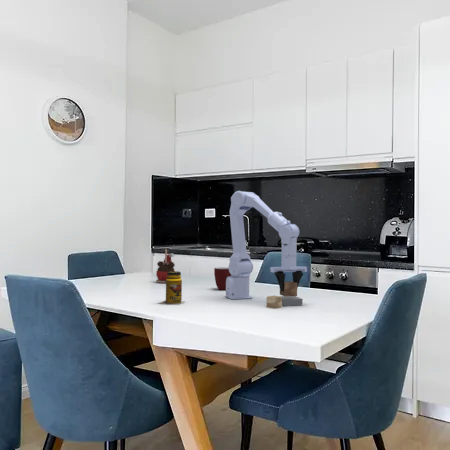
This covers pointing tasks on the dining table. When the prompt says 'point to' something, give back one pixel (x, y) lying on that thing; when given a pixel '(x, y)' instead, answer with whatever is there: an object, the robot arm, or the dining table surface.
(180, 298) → the condiment
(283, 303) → the slate base
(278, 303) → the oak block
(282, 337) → the dining table surface
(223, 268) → the mug
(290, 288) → the walnut cube
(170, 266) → the cake
